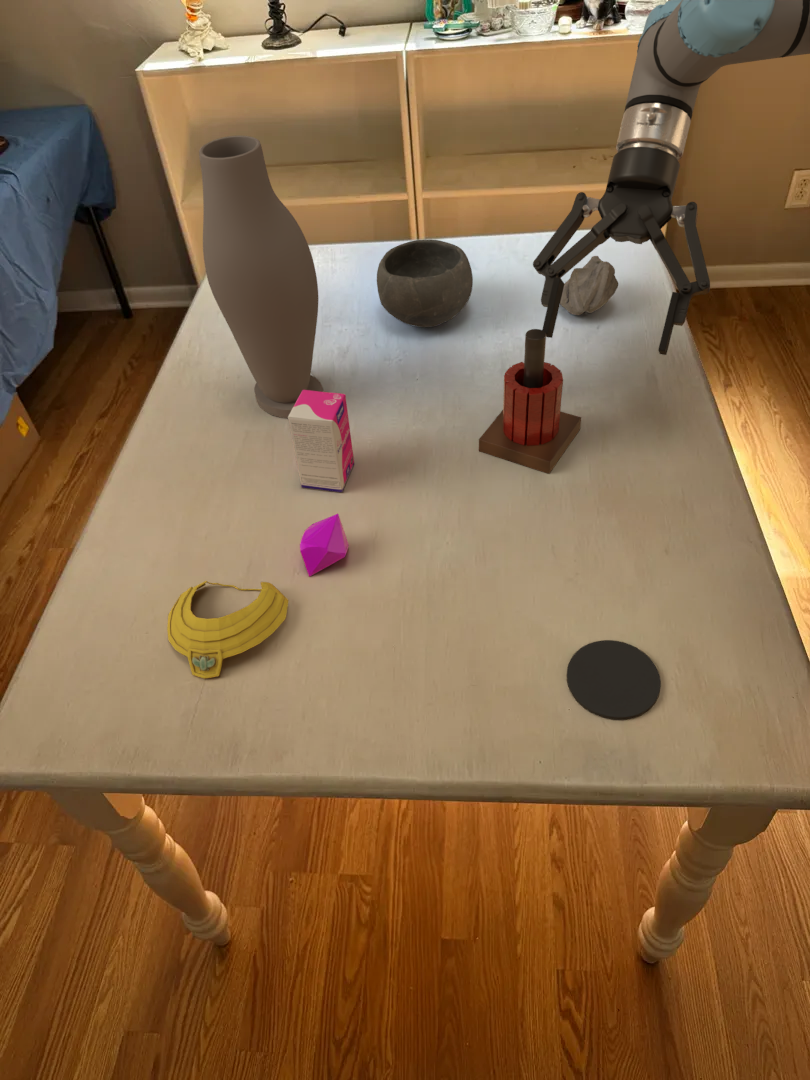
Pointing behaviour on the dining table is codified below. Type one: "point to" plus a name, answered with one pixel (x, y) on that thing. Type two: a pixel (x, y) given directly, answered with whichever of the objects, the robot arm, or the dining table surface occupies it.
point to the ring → (532, 406)
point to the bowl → (424, 282)
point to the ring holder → (539, 454)
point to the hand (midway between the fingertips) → (603, 344)
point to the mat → (613, 679)
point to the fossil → (589, 287)
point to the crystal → (323, 544)
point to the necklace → (223, 628)
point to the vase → (259, 271)
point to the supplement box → (321, 440)
